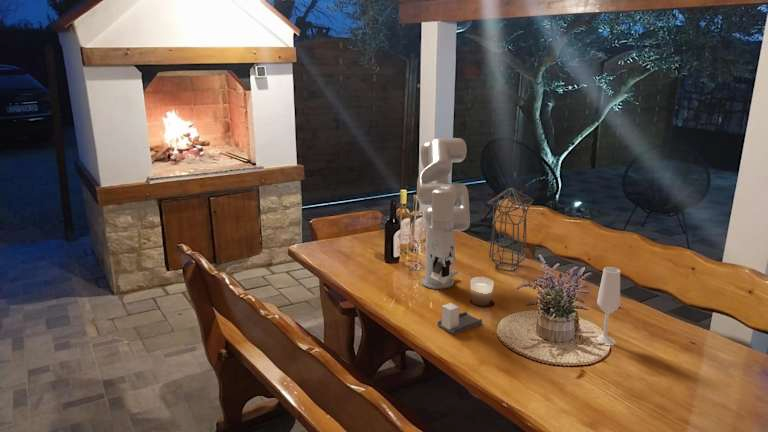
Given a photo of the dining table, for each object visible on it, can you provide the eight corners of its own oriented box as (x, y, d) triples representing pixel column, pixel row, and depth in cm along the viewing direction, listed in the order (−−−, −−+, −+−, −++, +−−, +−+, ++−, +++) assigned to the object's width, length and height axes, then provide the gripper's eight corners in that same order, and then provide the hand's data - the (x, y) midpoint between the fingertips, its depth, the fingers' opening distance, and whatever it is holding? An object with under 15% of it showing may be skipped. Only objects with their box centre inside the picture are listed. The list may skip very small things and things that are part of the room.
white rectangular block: (437, 280, 207) (445, 262, 207) (444, 283, 204) (453, 265, 204) (428, 276, 204) (437, 258, 204) (436, 279, 201) (445, 261, 201)
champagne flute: (615, 337, 186) (623, 267, 179) (616, 347, 180) (624, 274, 173) (593, 334, 188) (600, 265, 181) (593, 344, 182) (600, 272, 175)
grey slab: (465, 315, 202) (465, 311, 202) (482, 323, 196) (482, 319, 195) (437, 325, 195) (437, 321, 194) (453, 334, 188) (453, 330, 188)
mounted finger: (451, 321, 195) (452, 302, 194) (459, 325, 192) (460, 306, 190) (441, 325, 193) (441, 305, 191) (449, 329, 190) (450, 309, 188)
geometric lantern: (530, 265, 250) (536, 186, 240) (517, 277, 237) (523, 195, 227) (496, 258, 258) (500, 181, 248) (482, 269, 245) (485, 189, 235)
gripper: (418, 221, 204) (417, 270, 209) (450, 232, 191) (449, 283, 196) (434, 217, 208) (433, 265, 213) (467, 228, 195) (465, 278, 200)
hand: (441, 273), depth 204 cm, fingers closed on white rectangular block, 3 cm apart
